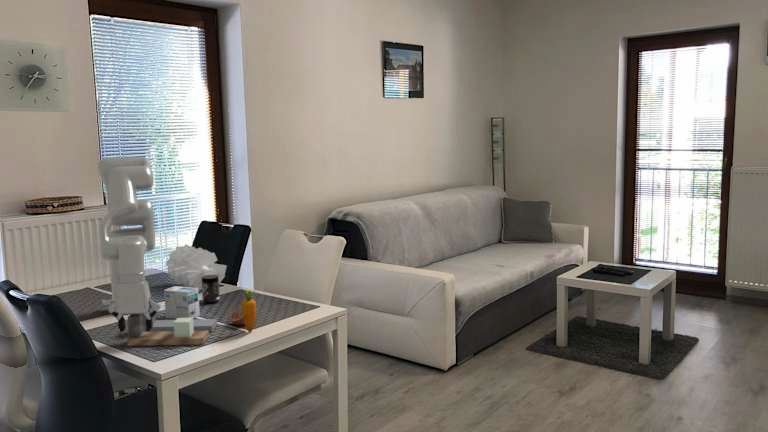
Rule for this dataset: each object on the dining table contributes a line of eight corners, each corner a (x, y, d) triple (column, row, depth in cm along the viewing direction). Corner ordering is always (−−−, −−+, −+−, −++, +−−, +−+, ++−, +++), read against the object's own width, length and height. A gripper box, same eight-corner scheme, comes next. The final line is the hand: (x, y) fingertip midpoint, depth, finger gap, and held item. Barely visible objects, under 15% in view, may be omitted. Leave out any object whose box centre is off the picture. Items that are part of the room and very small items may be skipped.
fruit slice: (254, 325, 231) (253, 311, 230) (237, 329, 226) (236, 315, 226) (242, 320, 237) (242, 307, 236) (225, 324, 232) (225, 310, 232)
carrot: (243, 330, 225) (241, 287, 223) (258, 329, 225) (256, 287, 223) (241, 334, 220) (239, 291, 218) (256, 334, 221) (254, 291, 218)
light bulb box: (200, 315, 243) (199, 287, 242) (189, 320, 237) (188, 291, 235) (176, 313, 246) (174, 285, 245) (164, 318, 240) (163, 289, 239)
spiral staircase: (201, 303, 275) (173, 289, 293) (234, 279, 285) (205, 267, 302) (182, 268, 267) (155, 256, 284) (217, 244, 276) (189, 234, 294)
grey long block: (141, 332, 222) (139, 307, 221) (148, 325, 230) (147, 300, 229) (212, 331, 223) (211, 306, 222) (217, 324, 231) (216, 299, 230)
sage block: (174, 337, 211) (173, 322, 211) (178, 332, 216) (177, 317, 216) (189, 337, 211) (189, 322, 211) (193, 332, 216) (193, 317, 216)
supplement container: (206, 299, 265) (205, 274, 264) (222, 299, 265) (221, 274, 263) (199, 304, 259) (198, 278, 257) (216, 304, 258) (215, 278, 256)
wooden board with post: (127, 345, 210) (125, 318, 208) (136, 337, 217) (134, 311, 216) (203, 344, 210) (201, 317, 209) (208, 336, 218) (207, 310, 217)
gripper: (100, 281, 207) (104, 334, 209) (156, 280, 207) (159, 333, 210) (109, 275, 214) (113, 327, 216) (163, 274, 215) (166, 326, 217)
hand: (135, 330), depth 213 cm, fingers open, 7 cm apart
